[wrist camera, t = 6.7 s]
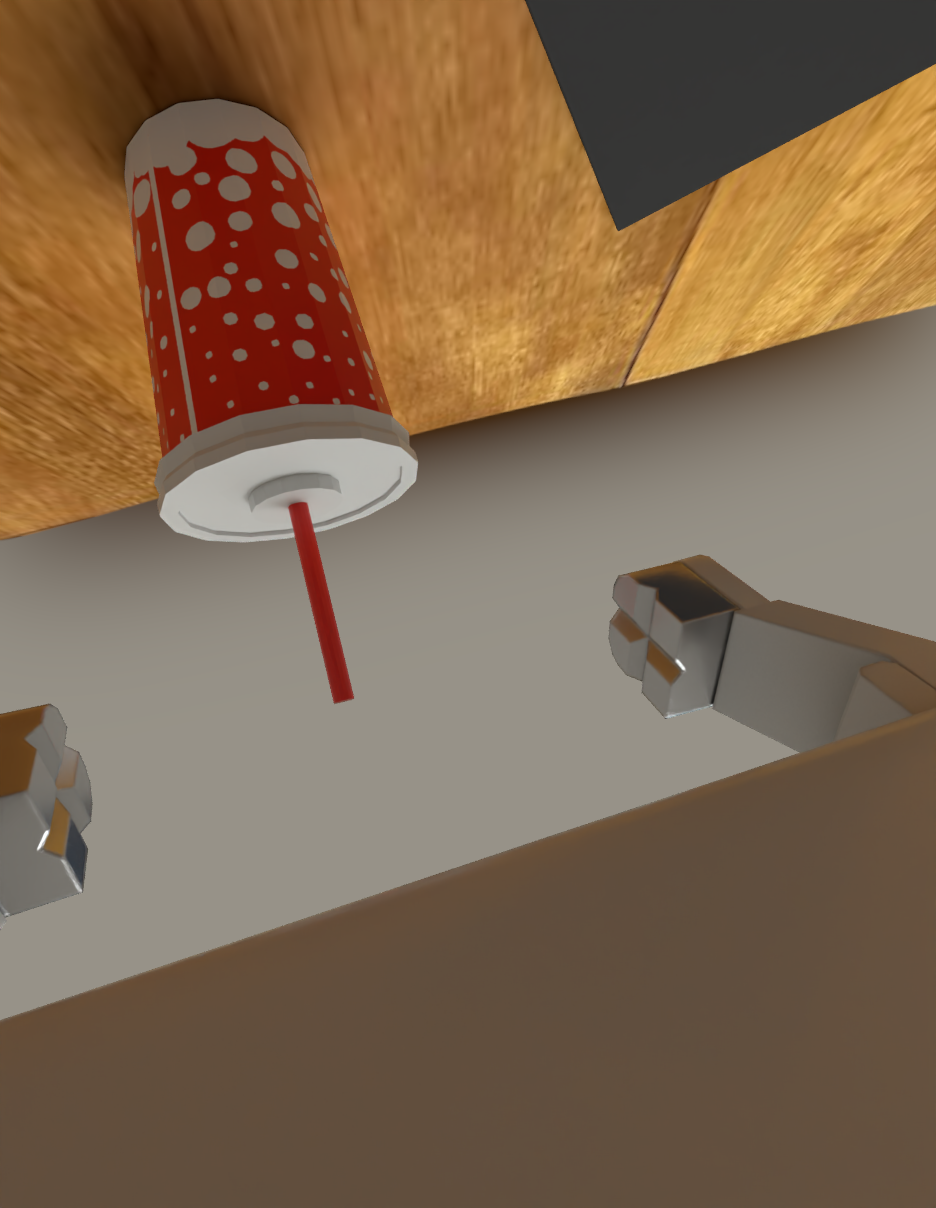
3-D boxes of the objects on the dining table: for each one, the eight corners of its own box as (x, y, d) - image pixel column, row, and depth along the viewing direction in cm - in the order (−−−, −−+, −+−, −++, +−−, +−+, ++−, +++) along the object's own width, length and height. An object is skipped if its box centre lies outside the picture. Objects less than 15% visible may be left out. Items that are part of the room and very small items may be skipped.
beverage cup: (223, 287, 22) (323, 717, 20) (31, 174, 17) (139, 751, 14) (379, 182, 20) (512, 659, 17) (215, 8, 14) (379, 674, 12)
